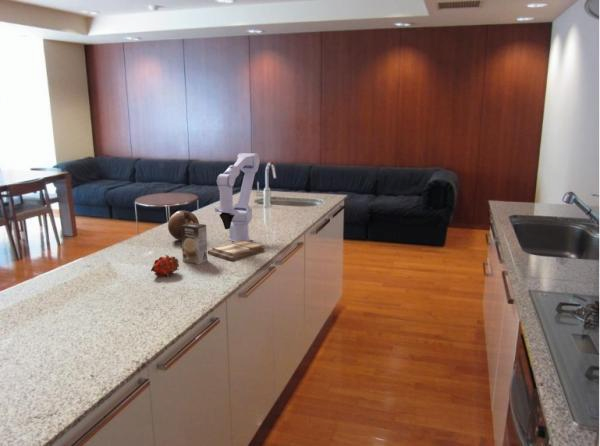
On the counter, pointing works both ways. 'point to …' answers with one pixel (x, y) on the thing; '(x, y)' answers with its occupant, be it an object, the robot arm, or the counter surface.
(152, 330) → the counter surface
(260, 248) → the board
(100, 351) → the counter surface
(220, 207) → the robot arm
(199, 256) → the coffee box
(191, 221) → the wooden sphere
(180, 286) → the counter surface
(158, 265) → the dragon fruit
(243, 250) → the oak plank
